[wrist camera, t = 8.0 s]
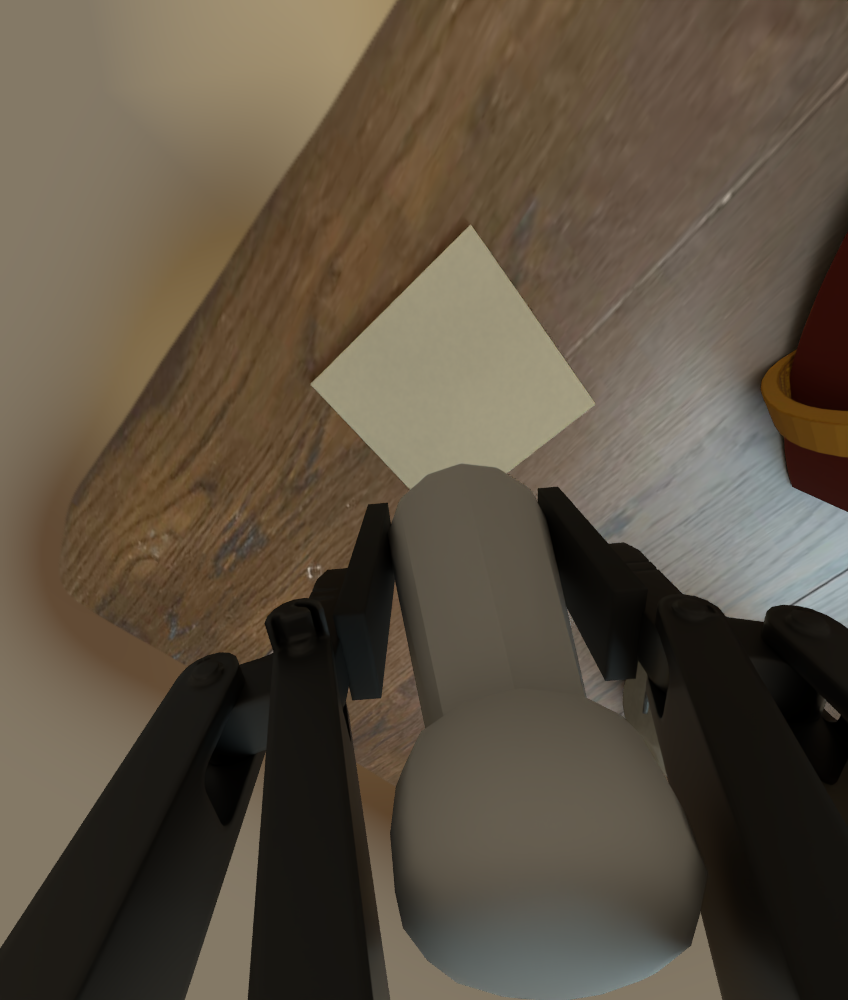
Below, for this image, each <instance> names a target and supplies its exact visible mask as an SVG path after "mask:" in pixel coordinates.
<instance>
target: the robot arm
mask: <svg viewBox="0 0 848 1000" xmlns="http://www.w3.org/2000/svg"><path fill="white" fill-rule="evenodd" d="M538 504H539V506H540V508H541V509H542V511H543V513H544V515H545V517H546V519H547V523H548V527H549V531H550V536H551V540H552V545H553V549H554V554H555V558H556V563H557V567H558V572H559V576H560V581H561V585H562V590H563V594H564V599H565V603H566V607H567V609H568V611H569V612H570V614H571V616H572V618H573V620H574V622H575V624H576V626H577V628H578V630H579V632H580V633H581V635H582V637H583V639H584V641H585V643H586V645H587V647H588V649H589V651H590V653H591V654H592V656H593V658H594V660H595V662H596V664H597V666H598V668H599V670H600V672H601V673H602V675H603V677H604V679H605V681H611V680H625V679H636V673H637V666H638V661H639V662H640V664H641V666H642V667H643V669H644V670H645V672H646V673H647V680H646V686H645V693H644V700H643V709H642V713H644V714H647V713H648V707H649V706H650V710H651V714H652V718H653V722H654V726H655V730H656V734H657V738H658V742H659V746H660V750H661V754H662V758H663V762H664V766H665V770H666V774H667V778H668V782H669V785H670V786H671V788H672V790H673V792H674V793H675V795H676V797H677V799H678V801H679V802H680V804H681V806H682V808H683V809H684V811H685V813H686V815H687V818H688V821H689V823H690V826H691V829H692V831H693V834H694V836H695V839H696V842H697V844H698V847H699V850H700V852H701V855H702V858H703V860H704V863H705V866H706V868H707V871H708V876H707V881H706V886H705V891H704V896H703V901H702V906H701V915H702V919H703V923H704V927H705V931H706V935H707V939H708V943H709V947H710V951H711V955H712V959H713V963H714V967H715V972H716V976H717V980H718V983H719V987H720V991H721V996H722V1000H848V628H846V627H845V626H844V625H842V624H841V623H839V622H838V621H836V620H834V619H833V618H831V617H829V616H827V615H825V614H822V613H820V612H817V611H815V610H813V609H809V608H804V607H800V606H792V605H779V606H774V607H771V608H770V609H769V610H768V611H767V612H766V616H765V620H764V622H760V621H752V620H744V619H736V618H729V617H726V616H725V615H724V613H723V612H722V611H721V610H720V609H719V608H718V607H717V606H715V605H714V604H712V603H710V602H709V601H707V600H704V599H701V598H698V597H696V596H691V595H685V594H682V593H681V592H680V591H679V590H678V589H677V588H676V587H675V586H674V585H673V584H672V583H671V582H670V581H669V580H668V579H667V578H666V577H665V576H664V575H663V574H662V573H661V572H660V571H659V570H657V569H656V567H655V566H654V565H653V564H652V563H651V562H649V560H648V559H647V558H646V557H645V556H644V555H643V554H642V553H641V552H640V551H639V550H638V549H636V548H634V547H632V546H630V545H628V544H626V543H612V544H608V543H607V542H606V541H605V539H604V538H603V537H602V536H601V535H600V534H599V533H598V532H597V530H596V529H595V528H594V527H593V526H592V525H591V524H590V522H589V521H588V520H587V519H586V518H585V517H584V516H583V515H582V513H581V512H580V511H579V510H578V509H577V508H576V507H575V505H574V504H573V503H572V502H571V501H570V500H569V499H568V497H567V496H566V495H565V494H564V493H563V492H562V491H561V490H560V488H559V487H549V488H538ZM390 527H391V522H390V515H389V508H388V503H380V504H369V505H368V507H367V510H366V513H365V516H364V519H363V522H362V525H361V529H360V532H359V535H358V538H357V541H356V544H355V547H354V550H353V553H352V556H351V560H350V563H349V566H348V568H344V569H332V570H327V571H326V572H325V573H324V574H322V575H321V576H320V577H319V578H318V579H317V581H316V583H315V585H314V588H313V592H311V595H310V597H309V598H302V599H295V600H292V601H289V602H286V603H284V604H282V605H280V606H279V607H277V608H275V609H274V610H273V611H272V612H271V613H270V614H269V615H268V616H267V619H266V621H265V626H266V629H267V633H268V636H269V639H270V642H271V645H272V648H273V653H272V654H270V655H267V656H265V657H262V658H260V659H256V660H253V661H250V662H247V663H244V664H241V665H239V662H238V660H237V658H236V656H235V655H233V654H231V653H215V654H211V655H208V656H205V657H203V658H201V659H199V660H197V661H195V662H194V663H193V664H191V665H190V666H188V667H187V668H186V669H185V670H184V671H183V672H182V673H181V674H180V676H179V677H178V678H177V679H176V681H175V683H174V684H173V686H172V687H171V689H170V690H169V692H168V693H167V695H166V696H165V698H164V699H163V701H162V702H161V704H160V706H159V707H158V708H157V710H156V712H155V713H154V715H153V716H152V718H151V719H150V721H149V722H148V724H147V725H146V727H145V729H144V730H143V731H142V733H141V735H140V736H139V737H138V739H137V741H136V742H135V744H134V745H133V747H132V748H131V750H130V751H129V753H128V754H127V756H126V757H125V759H124V761H123V762H122V763H121V765H120V767H119V768H118V770H117V771H116V773H115V774H114V776H113V777H112V779H111V780H110V782H109V783H108V785H107V786H106V788H105V789H104V791H103V792H102V794H101V796H100V797H99V799H98V800H97V802H96V803H95V805H94V806H93V808H92V809H91V811H90V812H89V814H88V815H87V817H86V818H85V820H84V821H83V823H82V824H81V826H80V828H79V829H78V831H77V832H76V834H75V835H74V837H73V838H72V840H71V841H70V843H69V844H68V846H67V848H66V849H65V851H64V852H63V853H62V855H61V857H60V858H59V860H58V861H57V863H56V864H55V866H54V867H53V869H52V870H51V872H50V873H49V875H48V876H47V878H46V880H45V881H44V883H43V884H42V886H41V887H40V889H39V890H38V892H37V893H36V895H35V896H34V898H33V899H32V901H31V902H30V904H29V905H28V907H27V909H26V910H25V912H24V913H23V915H22V916H21V918H20V919H19V921H18V922H17V924H16V925H15V927H14V928H13V930H12V931H11V933H10V934H9V936H8V937H7V939H6V940H5V942H4V944H3V945H2V947H1V948H0V1000H185V997H186V994H187V991H188V988H189V985H190V982H191V979H192V976H193V973H194V969H195V966H196V963H197V960H198V957H199V954H200V951H201V948H202V945H203V942H204V939H205V936H206V932H207V930H208V926H209V923H210V921H211V918H212V914H213V911H214V908H215V905H216V902H217V898H218V896H219V893H220V890H221V887H222V883H223V881H224V878H225V875H226V871H227V868H228V865H229V862H230V859H231V856H232V853H233V850H234V847H235V844H236V840H237V838H238V835H239V832H240V829H241V825H242V823H243V819H244V816H245V813H246V810H247V807H248V804H249V801H250V798H251V795H252V792H253V788H254V786H255V783H256V780H257V777H258V774H259V770H260V767H261V764H262V761H263V758H264V755H265V752H266V760H265V774H264V788H263V801H262V814H261V827H260V841H259V856H258V868H257V883H256V896H255V909H254V923H253V936H252V937H253V938H252V949H251V963H250V977H249V978H250V979H249V990H248V1000H390V995H389V988H388V982H387V975H386V968H385V961H384V954H383V948H382V941H381V933H380V926H379V920H378V912H377V905H376V899H375V892H374V885H373V878H372V871H371V864H370V857H369V850H368V843H367V836H366V829H365V823H364V816H363V809H362V802H361V795H360V789H359V781H358V774H357V767H356V760H355V754H354V747H353V740H352V733H351V726H350V719H349V713H348V708H347V704H346V697H347V693H348V688H350V692H351V697H352V700H363V699H376V698H381V696H382V687H383V678H384V670H385V661H386V652H387V644H388V635H389V626H390V617H391V609H392V600H393V591H394V583H395V577H394V572H393V567H392V560H391V553H390V545H389V538H388V532H389V530H390ZM826 701H827V702H828V703H829V704H830V705H831V706H832V707H834V708H835V709H836V710H837V711H838V712H839V713H840V714H841V716H840V718H839V719H838V720H836V719H835V718H833V717H832V716H831V715H830V714H829V713H828V712H827V711H826V710H825V709H824V706H825V704H826Z"/></svg>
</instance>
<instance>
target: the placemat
mask: <svg viewBox="0 0 848 1000" xmlns="http://www.w3.org/2000/svg"><path fill="white" fill-rule="evenodd" d="M311 386H312V387H313V388H314V389H315V390H316V391H317V392H318V393H319V394H320V395H321V396H322V397H323V398H324V399H325V400H326V401H327V402H328V403H329V405H330V406H331V407H332V408H333V409H334V410H335V411H336V412H337V413H338V414H339V415H340V416H341V417H342V418H343V419H344V420H345V421H346V422H347V423H348V425H349V426H350V427H351V428H352V429H353V430H354V431H355V432H356V433H357V434H358V435H359V436H360V437H361V438H362V439H363V440H364V441H365V442H366V444H367V445H368V446H369V447H370V448H371V449H372V450H373V451H374V452H375V453H376V454H377V455H378V456H379V457H380V458H381V459H382V460H383V461H384V463H385V464H386V465H387V466H388V467H389V468H390V469H391V470H392V471H393V472H394V473H395V474H396V475H397V476H398V477H399V478H400V479H401V480H402V481H403V483H404V484H405V485H406V486H407V487H408V488H409V489H410V490H411V489H412V488H413V487H414V486H415V485H416V484H417V483H419V482H420V481H421V480H422V479H423V478H424V477H425V476H426V475H428V474H431V473H434V472H437V471H440V470H443V469H446V468H449V467H452V466H455V465H458V464H461V463H462V464H471V465H479V466H488V467H496V468H498V469H500V470H502V471H503V472H505V473H508V472H509V471H510V470H512V469H513V468H514V467H515V466H517V465H518V464H519V463H521V462H522V461H523V460H524V459H526V458H527V457H528V456H530V455H531V454H532V453H533V452H535V451H536V450H537V449H539V448H540V447H541V446H542V445H544V444H545V443H546V442H548V441H549V440H550V439H552V438H553V437H554V436H555V435H557V434H558V433H559V432H561V431H562V430H563V429H564V428H566V427H567V426H568V425H570V424H571V423H572V422H573V421H575V420H576V419H577V418H579V417H580V416H581V415H583V414H584V413H585V412H586V411H588V410H589V409H590V408H592V407H593V406H594V405H595V402H594V401H593V399H592V398H591V397H590V395H589V394H588V392H587V391H586V389H585V388H584V387H583V385H582V384H581V382H580V381H579V379H578V378H577V376H576V375H575V374H574V372H573V371H572V369H571V368H570V366H569V365H568V363H567V362H566V361H565V359H564V358H563V356H562V355H561V353H560V352H559V351H558V349H557V348H556V346H555V345H554V343H553V342H552V340H551V339H550V338H549V336H548V335H547V333H546V332H545V330H544V329H543V328H542V326H541V325H540V323H539V322H538V320H537V319H536V317H535V316H534V315H533V313H532V312H531V310H530V309H529V307H528V306H527V304H526V303H525V302H524V300H523V299H522V297H521V296H520V294H519V293H518V292H517V290H516V289H515V287H514V286H513V284H512V283H511V281H510V280H509V279H508V277H507V276H506V274H505V273H504V271H503V270H502V268H501V267H500V266H499V264H498V263H497V261H496V260H495V258H494V257H493V256H492V254H491V253H490V251H489V250H488V248H487V247H486V245H485V244H484V243H483V241H482V240H481V238H480V237H479V235H478V234H477V233H476V231H475V230H474V228H473V227H472V225H469V226H468V227H467V228H466V229H465V230H464V231H463V232H462V233H461V234H460V235H459V236H458V237H457V238H456V239H455V240H454V241H453V242H452V243H451V244H450V245H449V246H448V247H447V248H446V249H445V250H444V251H443V252H442V253H441V254H440V255H439V256H438V257H437V258H436V259H435V260H434V261H433V262H432V263H431V264H430V265H429V266H428V267H427V268H426V269H425V270H424V271H423V272H422V273H421V274H420V275H419V276H418V277H417V278H416V279H415V280H414V281H413V282H412V283H411V284H410V285H409V286H408V287H407V288H406V289H405V290H404V291H403V292H402V293H401V294H400V295H399V296H398V297H397V298H396V299H395V300H394V301H393V302H392V303H391V304H390V305H389V306H388V307H387V308H386V309H385V310H384V311H383V312H382V313H381V314H380V315H379V316H378V317H377V318H376V319H375V320H374V321H373V322H372V323H371V324H370V325H369V326H368V327H367V328H366V329H365V330H364V331H363V332H362V333H361V334H360V335H359V336H358V337H357V338H356V339H355V340H354V341H353V342H352V343H351V344H350V345H349V346H348V347H347V348H346V349H345V350H344V351H343V352H342V353H341V354H340V355H339V356H338V357H337V358H336V359H335V360H334V361H333V362H332V363H331V364H330V365H329V366H328V367H327V368H326V369H325V370H324V371H323V372H322V373H321V374H320V375H319V376H318V377H317V378H316V379H315V380H314V381H313V382H312V383H311Z"/></svg>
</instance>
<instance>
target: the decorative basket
mask: <svg viewBox="0 0 848 1000" xmlns="http://www.w3.org/2000/svg"><path fill="white" fill-rule="evenodd" d="M761 393H762V396H763V399H764V401H765V403H766V406H767V408H768V411H769V413H770V415H771V418H772V420H773V423H774V425H775V427H776V428H777V430H778V431H779V432H780V434H781V435H783V436H784V446H785V457H786V463H787V469H788V474H789V477H790V481H791V484H792V487H794V488H796V489H798V490H801V491H803V492H805V493H807V494H809V495H812V496H814V497H816V498H818V499H820V500H823V501H825V502H827V503H829V504H831V505H834V506H836V507H838V508H840V509H842V510H845V511H847V512H848V232H847V234H846V235H845V237H844V239H843V241H842V243H841V245H840V247H839V249H838V251H837V253H836V255H835V257H834V259H833V262H832V264H831V266H830V268H829V270H828V272H827V274H826V276H825V278H824V280H823V283H822V285H821V287H820V289H819V292H818V294H817V297H816V299H815V301H814V304H813V307H812V309H811V312H810V314H809V317H808V319H807V322H806V324H805V327H804V329H803V332H802V335H801V338H800V341H799V344H798V347H797V349H796V350H795V351H793V352H791V353H790V354H788V355H787V356H785V357H784V358H782V359H781V360H779V361H778V362H777V363H776V364H775V365H773V366H772V367H771V368H770V369H769V370H768V371H767V373H766V374H765V376H764V378H763V379H762V382H761Z"/></svg>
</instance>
